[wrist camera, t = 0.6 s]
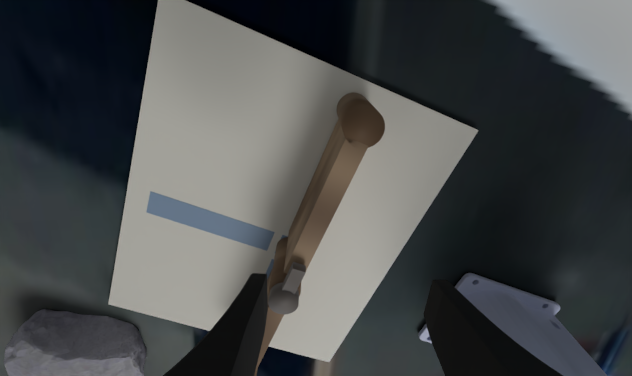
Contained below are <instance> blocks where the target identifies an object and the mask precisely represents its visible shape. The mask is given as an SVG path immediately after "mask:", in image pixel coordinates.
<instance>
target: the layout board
mask: <svg viewBox="0 0 632 376" xmlns="http://www.w3.org/2000/svg"><path fill="white" fill-rule="evenodd" d="M353 92H354V93H359V94H361V95H363V96H364V97H365V98H366V99H367V100H368V101H369V102H370V103H371V104H372V105H373V106H374V107H375V108H376V109H377V111H378V112H379V113H380V114H381V115H382V117H383V119H384V122H385V131H384V134H383V136H382V138H381V139H380V141H379V142H378V143H376V144H375V145H373V146H371V147H369V148H367V150H366V152H365V154H364V156H363V158H362V160H361V162H360V164H359V166H358V168H357V170H356V172H355V174H354V176H353V178H352V180H351V182H350V184H349V186H348V188H347V190H346V192H345V194H344V196H343V198H342V200H341V202H340V204H339V206H338V208H337V210H336V212H335V214H334V216H333V218H332V220H331V222H330V224H329V226H328V228H327V230H326V232H325V234H324V236H323V238H322V240H321V242H320V244H319V246H318V248H317V250H316V252H315V254H314V256H313V258H312V260H311V262H310V264H309V266H308V268H307V270H306V273H305V275H304V277H303V279H302V281H301V293H300V296H299V304H298V308H297V309H296V310H295V311H294V312H292V313H290V314H284V316H283V318H282V320H281V322H280V324H279V326H278V328H277V330H276V332H275V334H274V336H273V338H272V340H271V342H270V344H269V347H273V348H277V349H281V350H284V351H288V352H292V353H296V354H300V355H303V356H307V357H311V358H315V359H319V360H323V361H326V362H330V360H331V358H332V357H333V355H334V354H335V352H336V351H337V349H338V348H339V346H340V345H341V343H342V341H343V340H344V338H345V337H346V335H347V334H348V332H349V331H350V329H351V327H352V326H353V324H354V323H355V321H356V320H357V318H358V317H359V315H360V314H361V312H362V310H363V309H364V307H365V306H366V304H367V303H368V301H369V300H370V298H371V296H372V295H373V293H374V292H375V290H376V289H377V287H378V286H379V284H380V283H381V281H382V279H383V278H384V276H385V275H386V273H387V272H388V270H389V269H390V267H391V266H392V264H393V262H394V261H395V259H396V258H397V256H398V255H399V253H400V252H401V250H402V248H403V247H404V245H405V244H406V242H407V241H408V239H409V238H410V236H411V235H412V233H413V231H414V230H415V228H416V227H417V225H418V224H419V222H420V221H421V219H422V217H423V216H424V214H425V213H426V211H427V210H428V208H429V207H430V205H431V204H432V202H433V200H434V199H435V197H436V196H437V194H438V193H439V191H440V190H441V188H442V187H443V185H444V183H445V182H446V180H447V179H448V177H449V176H450V174H451V173H452V171H453V169H454V168H455V166H456V165H457V163H458V162H459V160H460V159H461V157H462V156H463V154H464V152H465V151H466V149H467V148H468V146H469V145H470V143H471V142H472V140H473V138H474V137H475V135H476V134H477V132H478V131H479V130H477V129H475V128H472V127H470V126H468V125H466V124H463V123H461V122H459V121H457V120H454V119H452V118H450V117H448V116H445V115H443V114H441V113H439V112H436V111H434V110H432V109H430V108H427V107H425V106H423V105H421V104H418V103H416V102H414V101H412V100H409V99H407V98H405V97H403V96H400V95H398V94H396V93H394V92H391V91H389V90H387V89H385V88H382V87H380V86H378V85H376V84H373V83H371V82H369V81H367V80H364V79H362V78H360V77H358V76H355V75H353V74H351V73H349V72H346V71H344V70H342V69H339V68H337V67H335V66H333V65H330V64H328V63H326V62H324V61H321V60H319V59H317V58H315V57H312V56H310V55H308V54H306V53H303V52H301V51H299V50H297V49H294V48H292V47H290V46H288V45H285V44H283V43H281V42H279V41H276V40H274V39H272V38H270V37H267V36H265V35H263V34H261V33H258V32H256V31H254V30H252V29H249V28H247V27H245V26H243V25H240V24H238V23H236V22H234V21H231V20H229V19H227V18H225V17H222V16H220V15H218V14H216V13H213V12H211V11H209V10H207V9H204V8H202V7H200V6H198V5H195V4H193V3H191V2H189V1H186V0H158V4H157V11H156V17H155V23H154V29H153V35H152V41H151V47H150V53H149V59H148V65H147V71H146V78H145V84H144V90H143V96H142V102H141V108H140V114H139V120H138V126H137V132H136V139H135V145H134V151H133V157H132V163H131V169H130V175H129V181H128V187H127V193H126V199H125V206H124V212H123V218H122V224H121V230H120V236H119V242H118V248H117V254H116V260H115V267H114V273H113V279H112V285H111V291H110V297H109V303H108V304H109V305H113V306H117V307H121V308H124V309H128V310H132V311H136V312H140V313H144V314H147V315H151V316H155V317H159V318H163V319H166V320H170V321H174V322H178V323H182V324H185V325H189V326H193V327H197V328H201V329H204V330H208V331H210V330H211V329H212V328H213V327H214V325H215V324H216V323H217V322H218V320H219V319H220V318H221V317H222V316H223V314H224V313H225V312H226V311H227V309H228V308H229V307H230V305H231V304H232V302H233V301H234V300H235V298H236V297H237V295H238V294H239V293H240V291H241V290H242V288H243V286H244V285H245V283H246V282H247V280H248V278H249V276H250V275H251V274H252V273H261V274H267V279H268V277H269V275H270V272H271V270H272V268H273V263H274V257H275V252H276V246H277V243H278V241H279V240H281V239H282V238H285V237H288V234H289V229H290V227H291V225H292V223H293V220H294V218H295V216H296V213H297V211H298V209H299V207H300V204H301V202H302V200H303V198H304V195H305V193H306V191H307V188H308V186H309V184H310V182H311V179H312V177H313V175H314V173H315V170H316V168H317V166H318V164H319V161H320V159H321V157H322V154H323V152H324V150H325V148H326V145H327V143H328V141H329V139H330V136H331V134H332V132H333V129H334V127H335V125H336V123H337V120H338V116H337V104H338V102H339V100H340V99H341V98H342V97H343V96H344V95H346V94H348V93H353Z"/></svg>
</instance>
